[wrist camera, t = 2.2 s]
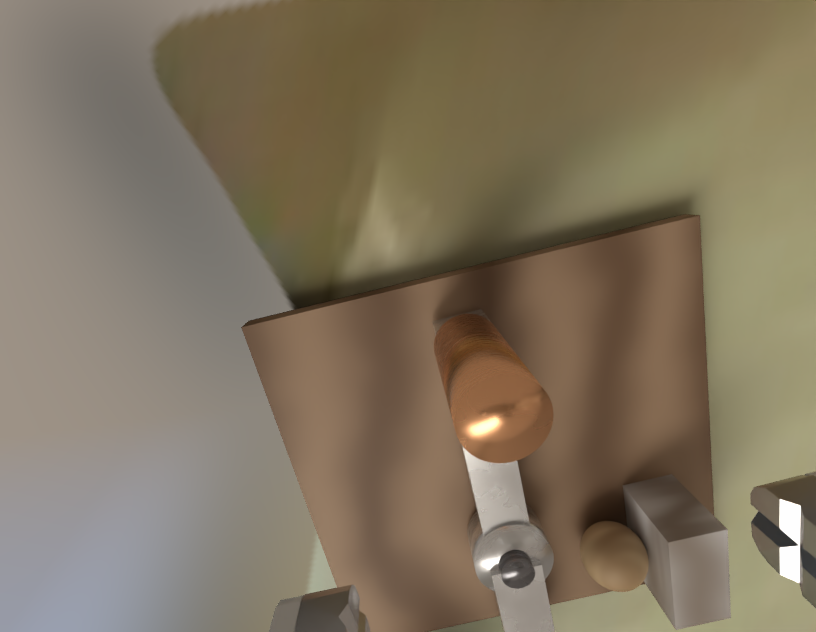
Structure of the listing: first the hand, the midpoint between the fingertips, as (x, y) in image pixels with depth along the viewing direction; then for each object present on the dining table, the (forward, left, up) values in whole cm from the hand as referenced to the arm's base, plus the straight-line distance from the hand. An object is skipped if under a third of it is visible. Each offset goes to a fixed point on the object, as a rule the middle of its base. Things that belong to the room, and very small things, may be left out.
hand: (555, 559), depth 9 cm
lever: (0, +9, -14) cm, 17 cm away
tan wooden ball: (-6, +15, -15) cm, 22 cm away
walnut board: (-1, +8, -16) cm, 18 cm away
